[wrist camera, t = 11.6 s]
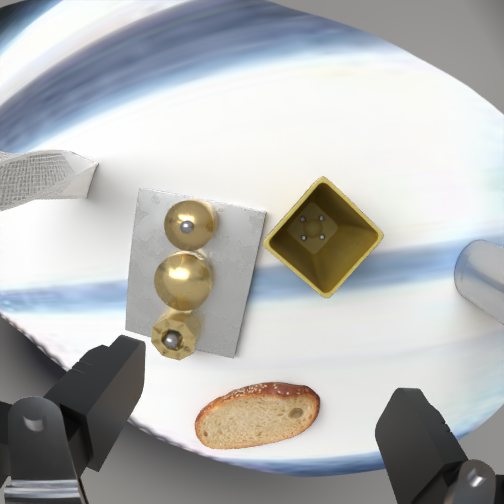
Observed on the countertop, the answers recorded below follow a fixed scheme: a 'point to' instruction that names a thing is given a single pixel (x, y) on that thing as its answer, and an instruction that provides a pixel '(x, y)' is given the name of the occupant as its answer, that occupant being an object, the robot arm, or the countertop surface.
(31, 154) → the skyscraper
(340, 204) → the flower pot
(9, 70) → the countertop surface
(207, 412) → the slice of bread
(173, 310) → the gold octagonal ring
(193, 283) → the carrier
